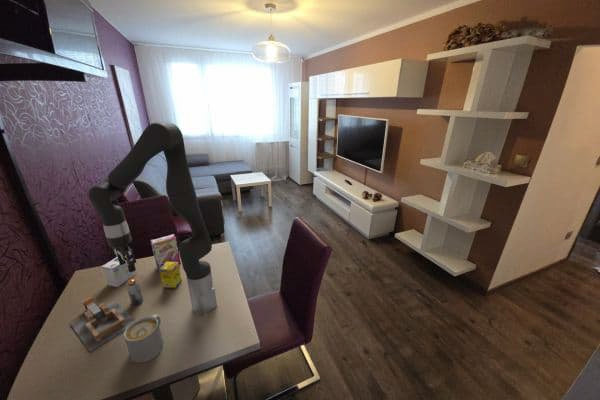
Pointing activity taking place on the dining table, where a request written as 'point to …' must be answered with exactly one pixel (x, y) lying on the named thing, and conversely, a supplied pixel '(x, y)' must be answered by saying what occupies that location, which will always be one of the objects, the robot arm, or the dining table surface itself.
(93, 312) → the pin
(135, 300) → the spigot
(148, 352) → the coffee mug
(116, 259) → the light bulb box
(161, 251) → the candy bar box
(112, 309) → the dock
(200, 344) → the dining table surface
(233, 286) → the dining table surface
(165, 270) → the supplement box
